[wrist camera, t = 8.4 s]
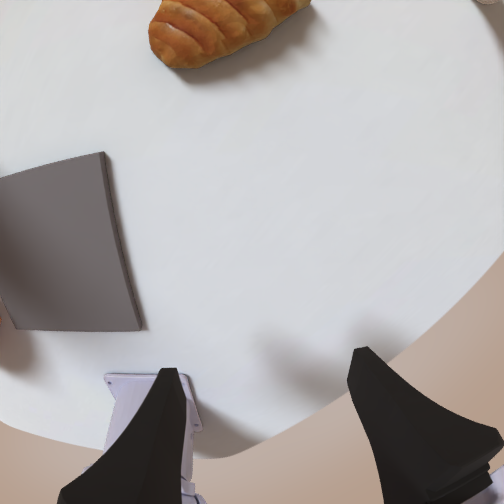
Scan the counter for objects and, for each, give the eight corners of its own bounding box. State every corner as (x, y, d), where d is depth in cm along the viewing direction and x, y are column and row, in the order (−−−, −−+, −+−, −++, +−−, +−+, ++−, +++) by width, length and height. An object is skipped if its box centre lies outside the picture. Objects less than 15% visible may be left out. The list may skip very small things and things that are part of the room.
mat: (142, 324, 22) (140, 331, 21) (19, 323, 21) (16, 329, 20) (103, 151, 16) (99, 153, 16) (-27, 187, 16) (-33, 190, 15)
